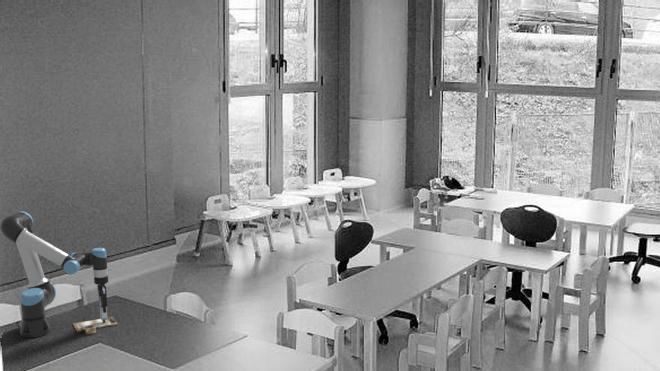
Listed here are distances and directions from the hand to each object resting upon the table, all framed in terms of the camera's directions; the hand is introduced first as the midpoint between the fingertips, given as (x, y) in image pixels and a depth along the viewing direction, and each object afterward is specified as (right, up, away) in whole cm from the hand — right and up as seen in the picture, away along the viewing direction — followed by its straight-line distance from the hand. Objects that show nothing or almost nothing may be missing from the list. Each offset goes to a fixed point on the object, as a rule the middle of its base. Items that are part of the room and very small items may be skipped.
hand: (104, 316), depth 448 cm
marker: (0, -3, 0) cm, 3 cm away
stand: (-4, -6, -13) cm, 15 cm away
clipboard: (-4, -4, -1) cm, 6 cm away
